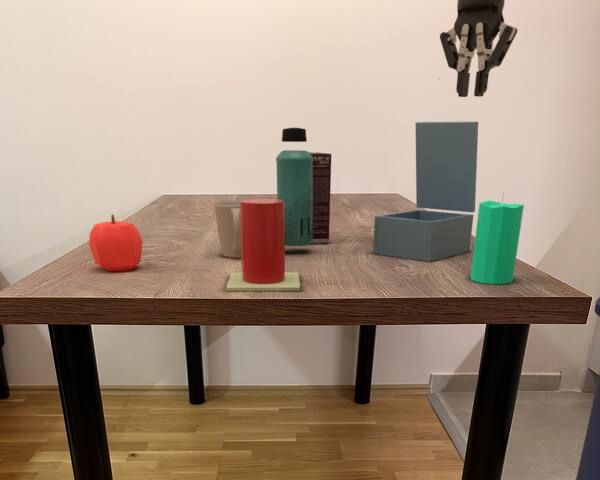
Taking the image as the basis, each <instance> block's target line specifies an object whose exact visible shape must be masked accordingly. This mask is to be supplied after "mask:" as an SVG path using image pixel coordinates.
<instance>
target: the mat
mask: <svg viewBox="0 0 600 480" xmlns="http://www.w3.org/2000/svg"><path fill="white" fill-rule="evenodd" d="M225 291H226V292H300V291H301V282H300V275H299V272H298V271H297V272H292V271H291V272H290V271H288V272H286V271H285V280H284V281H282V282H279V283H273V284H253V283H247V282H244V281H243V277H242V272H231V273H230V276H229V277H228V281H227V283H226V287H225Z"/></svg>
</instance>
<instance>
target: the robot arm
mask: <svg viewBox="0 0 600 480" xmlns="http://www.w3.org/2000/svg"><path fill="white" fill-rule="evenodd" d="M505 2H506V1H505V0H457V4H456V5H457V6H456V11H457V16H456V20H455V21H454V24H453V27H452V28H450V29H449V30H447V31H446V32H445V31H442V32H441V33H440V35H439V41H440V43H441V46H442V49H443V53H444V56H445V60H446V63H447V66H448V68H449V69H453V70H455V71H456V73H457V79H456V88H455V91H456V94H457V96H458V97H459V98H467V97H468V95H469V88H470V78H471V73H470V70H471V66H472V61H473V58H474V57H475V54H476V55H477V69H478V71H477V70H476V73H475V82H474V90H473V91H474V92H473V96H474V97H477V98H478V97H479V98H481V97H484V95H485V93H486V92H487V91H488V85H489V84H488V83H489V75H490V72H491V70H492V69H494V68H497V67H500V66H501V65H502V63H503V61H504V59H505V57H506V55H507V53H508V51H509V50H510V47H511V45H512V44H513V42H514V40H515V37H516V36H517V34H518V28H517V27H515V26H512V25H509V24H508V23H505V18H504V14H503V10H504V6H505ZM497 36H498V38H499V39H498V41H497V42H496V45H495V46H494V41H495V39H496V37H497ZM457 38H458V40H459V47H458V48H457V45H456V43H457V41H458V40H457Z"/></svg>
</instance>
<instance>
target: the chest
mask: <svg viewBox="0 0 600 480" xmlns="http://www.w3.org/2000/svg"><path fill="white" fill-rule="evenodd" d="M473 224H474V214H469V213H457V212H448V211H447V212H446V211H437V210H425V209H411V210H405V211H399V212H392V213H387V214H380V215H375V216H374V227H373V243H372V244H373V245H372V247H373V248H372V254H375V255H381V256H389V257H395V258H401V259H410V260H415V261H422V262H430V263H431V262H435V261H438V260H442V259H446V258H449V257H450V258H451V257H453V256H457V255H461V254H466V253H468V252H470V250H471V241H472V233H473Z"/></svg>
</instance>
